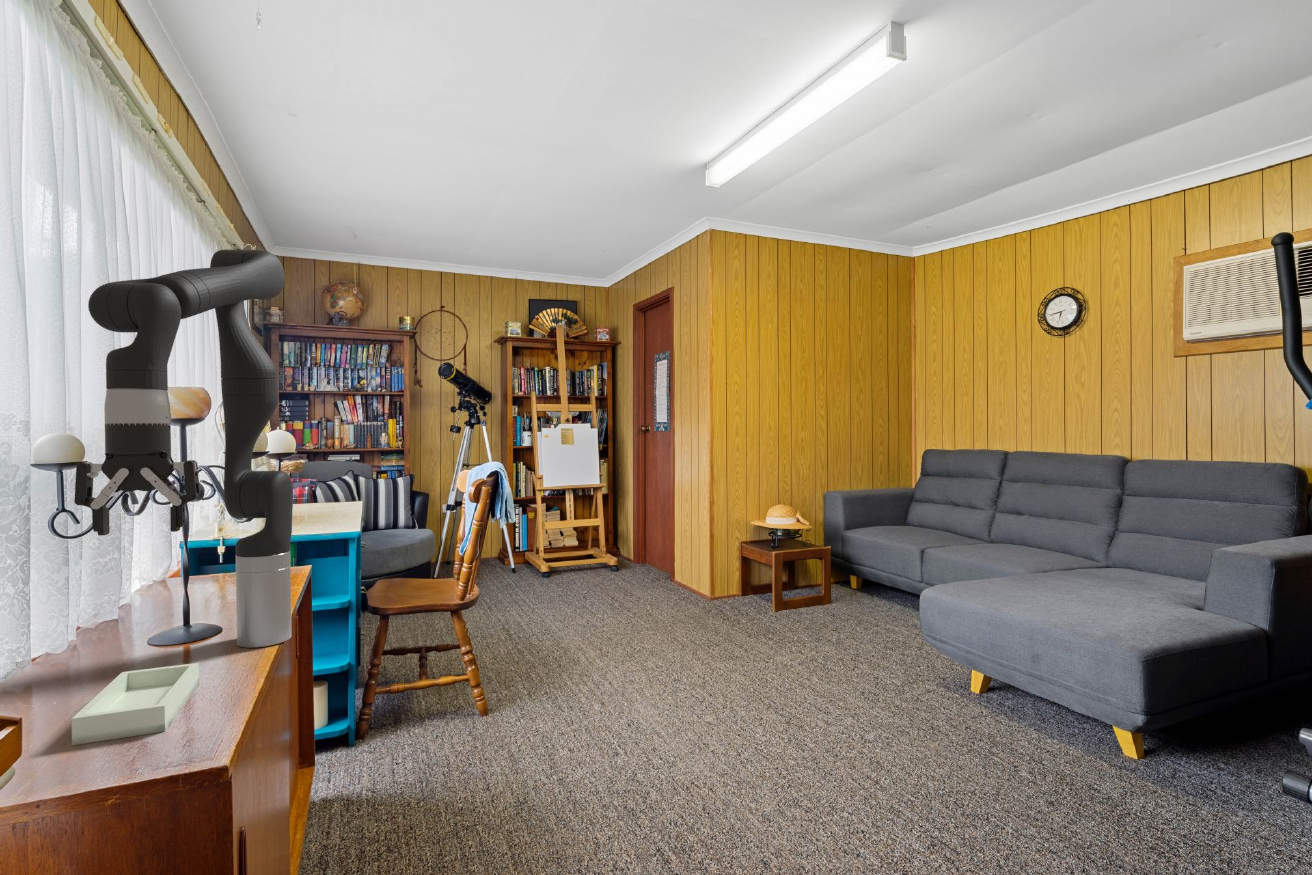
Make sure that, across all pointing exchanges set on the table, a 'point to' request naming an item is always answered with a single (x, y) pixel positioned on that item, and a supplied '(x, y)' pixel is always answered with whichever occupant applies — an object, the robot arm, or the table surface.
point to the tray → (136, 704)
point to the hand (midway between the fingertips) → (140, 532)
